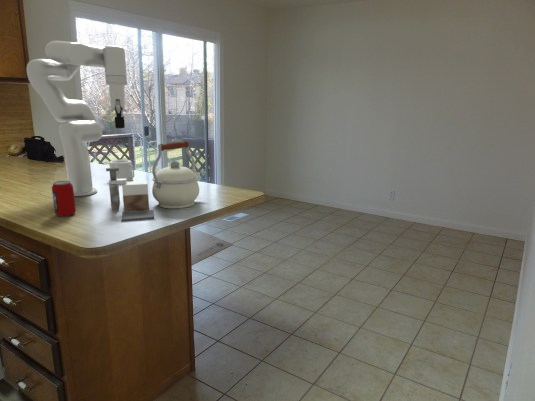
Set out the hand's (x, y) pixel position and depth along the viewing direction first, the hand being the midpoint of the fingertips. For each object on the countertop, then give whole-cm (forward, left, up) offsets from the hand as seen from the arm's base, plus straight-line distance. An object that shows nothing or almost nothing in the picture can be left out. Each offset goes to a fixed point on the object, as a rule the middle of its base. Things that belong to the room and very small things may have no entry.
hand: (120, 127), depth 149 cm
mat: (+5, -22, -30) cm, 37 cm away
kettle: (+21, -7, -31) cm, 38 cm away
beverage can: (-20, -12, -31) cm, 39 cm away
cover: (+4, -10, -24) cm, 27 cm away
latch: (-2, -10, -20) cm, 23 cm away
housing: (+2, -7, -30) cm, 31 cm away
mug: (-2, +45, -31) cm, 54 cm away
